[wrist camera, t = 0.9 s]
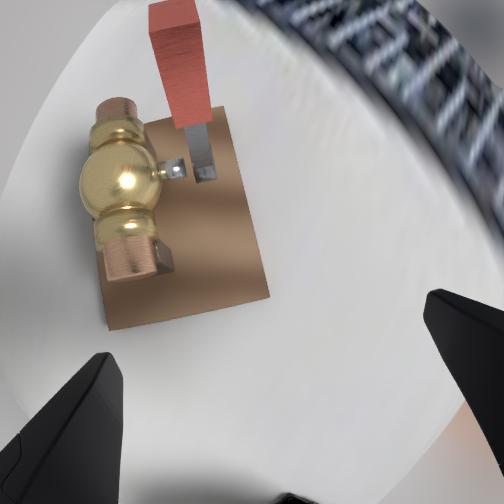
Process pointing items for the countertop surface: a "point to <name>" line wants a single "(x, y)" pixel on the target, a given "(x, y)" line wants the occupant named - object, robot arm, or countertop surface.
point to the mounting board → (193, 238)
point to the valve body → (126, 193)
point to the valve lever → (184, 77)
